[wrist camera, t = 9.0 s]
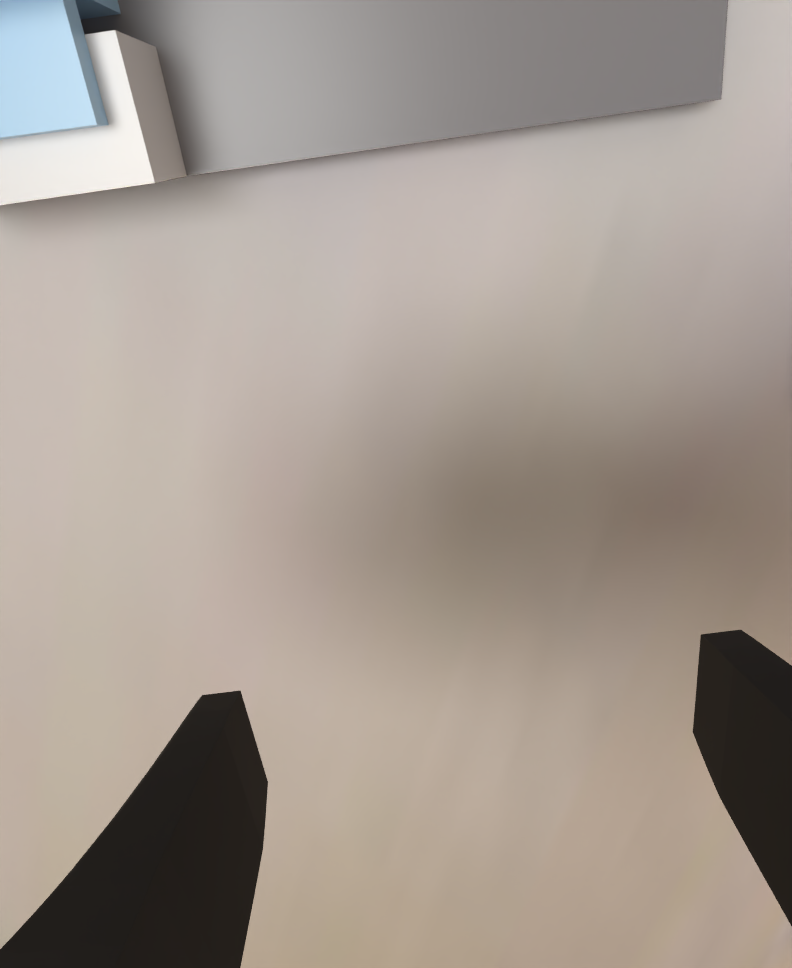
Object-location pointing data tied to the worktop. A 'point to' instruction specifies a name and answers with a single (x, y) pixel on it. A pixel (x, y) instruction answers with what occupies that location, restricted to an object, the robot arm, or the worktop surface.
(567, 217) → the worktop surface
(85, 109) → the block
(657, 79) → the plate
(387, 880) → the worktop surface
